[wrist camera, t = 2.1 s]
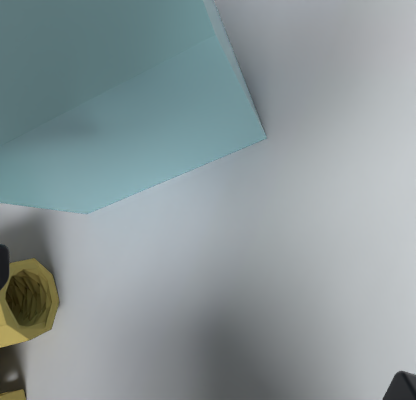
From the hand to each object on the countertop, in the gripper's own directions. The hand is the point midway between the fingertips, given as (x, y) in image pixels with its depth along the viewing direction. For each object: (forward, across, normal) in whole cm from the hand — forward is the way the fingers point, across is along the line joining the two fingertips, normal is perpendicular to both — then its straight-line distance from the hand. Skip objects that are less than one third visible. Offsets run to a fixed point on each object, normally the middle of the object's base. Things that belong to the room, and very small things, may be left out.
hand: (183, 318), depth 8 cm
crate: (+14, +7, -2) cm, 16 cm away
